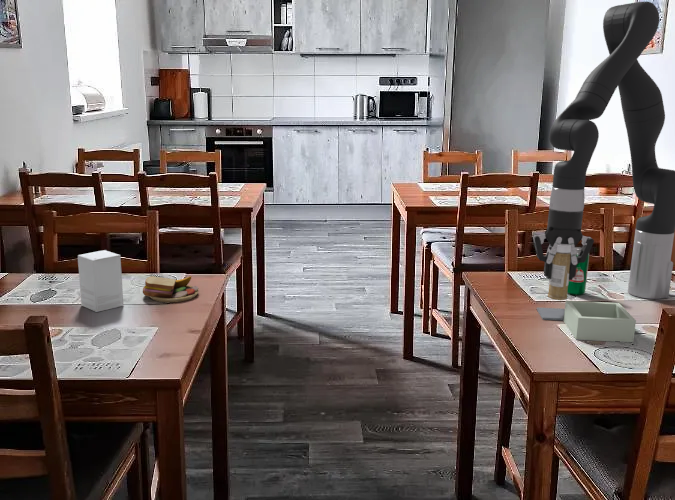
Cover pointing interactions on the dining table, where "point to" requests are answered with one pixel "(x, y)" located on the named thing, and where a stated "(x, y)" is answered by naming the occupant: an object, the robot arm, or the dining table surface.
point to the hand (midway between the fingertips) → (558, 278)
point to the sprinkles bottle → (560, 273)
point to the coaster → (551, 313)
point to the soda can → (579, 277)
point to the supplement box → (100, 280)
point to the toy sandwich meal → (169, 289)
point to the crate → (599, 321)
